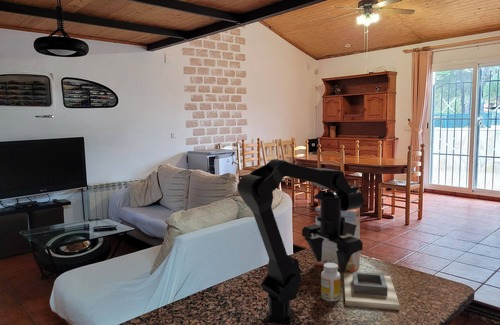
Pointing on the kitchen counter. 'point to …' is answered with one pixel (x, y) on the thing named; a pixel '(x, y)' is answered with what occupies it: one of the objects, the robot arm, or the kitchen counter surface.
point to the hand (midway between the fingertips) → (330, 266)
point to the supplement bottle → (330, 282)
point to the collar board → (370, 291)
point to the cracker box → (331, 247)
